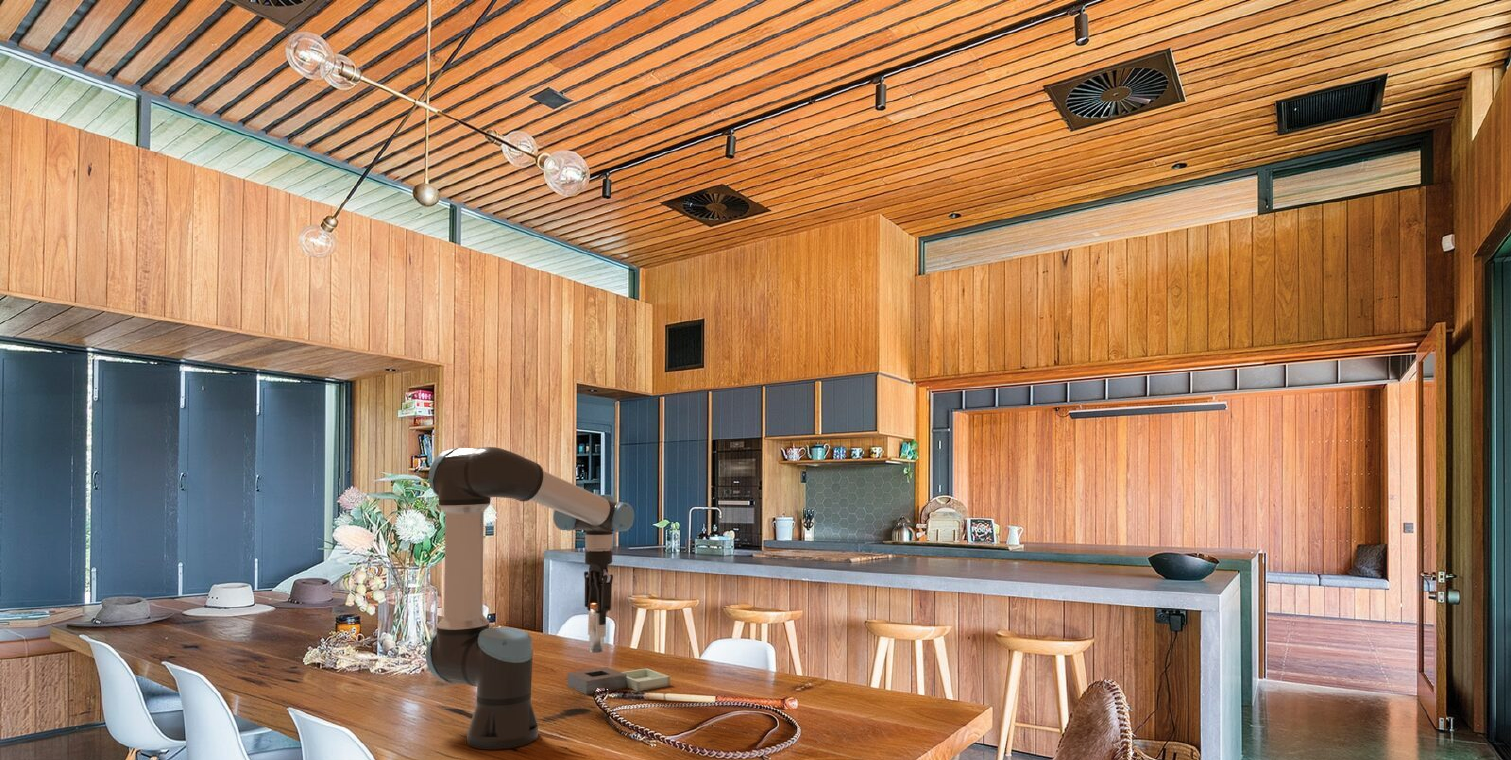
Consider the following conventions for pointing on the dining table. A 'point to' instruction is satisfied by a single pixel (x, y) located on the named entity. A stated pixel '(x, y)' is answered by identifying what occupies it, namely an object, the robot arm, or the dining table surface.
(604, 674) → the block
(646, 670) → the tray
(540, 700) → the dining table surface
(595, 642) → the orange capped vial
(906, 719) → the dining table surface
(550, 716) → the dining table surface
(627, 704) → the dining table surface
